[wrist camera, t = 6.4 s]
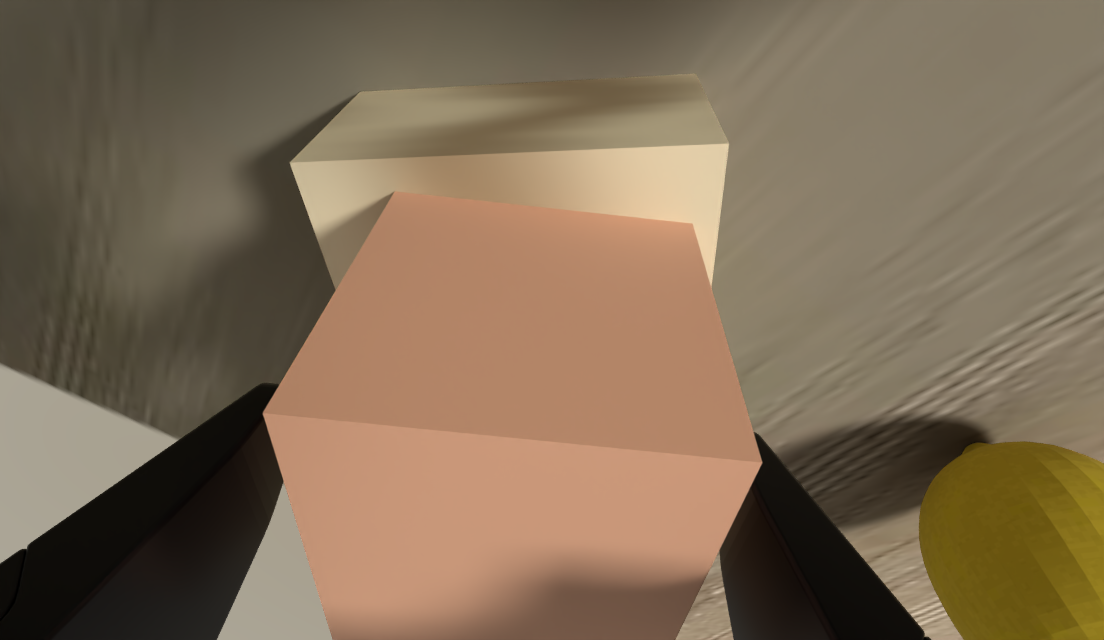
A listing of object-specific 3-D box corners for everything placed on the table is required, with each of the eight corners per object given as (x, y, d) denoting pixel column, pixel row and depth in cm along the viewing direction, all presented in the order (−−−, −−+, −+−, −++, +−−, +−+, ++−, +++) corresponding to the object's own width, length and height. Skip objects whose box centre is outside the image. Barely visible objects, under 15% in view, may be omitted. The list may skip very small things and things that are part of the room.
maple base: (693, 69, 12) (728, 143, 9) (673, 331, 16) (692, 443, 13) (364, 87, 13) (289, 162, 10) (428, 335, 17) (391, 443, 14)
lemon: (846, 487, 20) (965, 781, 13) (940, 369, 16) (1158, 690, 10) (1001, 510, 20) (1188, 808, 14) (1125, 399, 17) (1451, 729, 10)
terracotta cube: (692, 222, 10) (762, 462, 6) (638, 423, 13) (660, 669, 9) (395, 190, 10) (263, 412, 6) (411, 401, 13) (332, 639, 9)
